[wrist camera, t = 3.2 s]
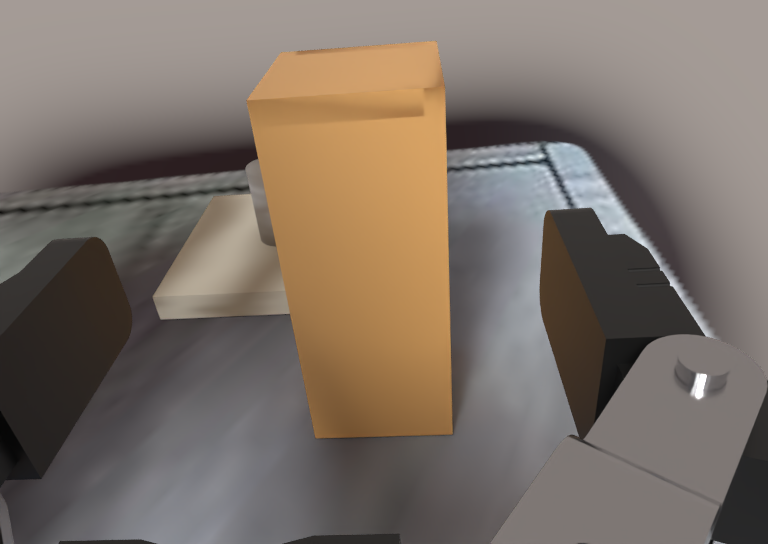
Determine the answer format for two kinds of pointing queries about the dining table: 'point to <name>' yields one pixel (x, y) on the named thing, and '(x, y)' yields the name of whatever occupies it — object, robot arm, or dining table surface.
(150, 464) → the dining table surface
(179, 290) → the stub plate
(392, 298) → the orange tall block
